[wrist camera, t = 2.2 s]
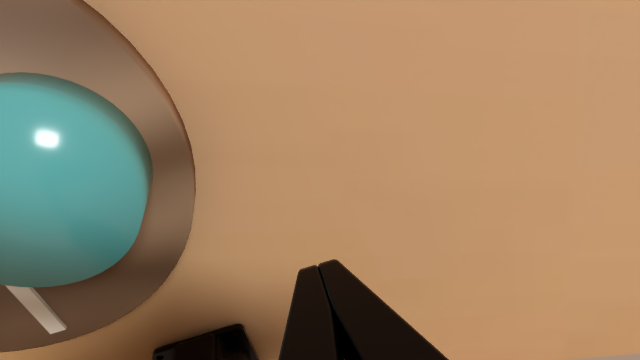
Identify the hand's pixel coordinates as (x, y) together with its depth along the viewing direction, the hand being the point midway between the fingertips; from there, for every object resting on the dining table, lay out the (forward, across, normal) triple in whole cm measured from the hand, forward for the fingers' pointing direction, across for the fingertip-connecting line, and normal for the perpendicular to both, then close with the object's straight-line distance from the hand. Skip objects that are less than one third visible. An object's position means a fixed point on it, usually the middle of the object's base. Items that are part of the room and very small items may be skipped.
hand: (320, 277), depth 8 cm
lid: (+10, +10, 0) cm, 14 cm away
